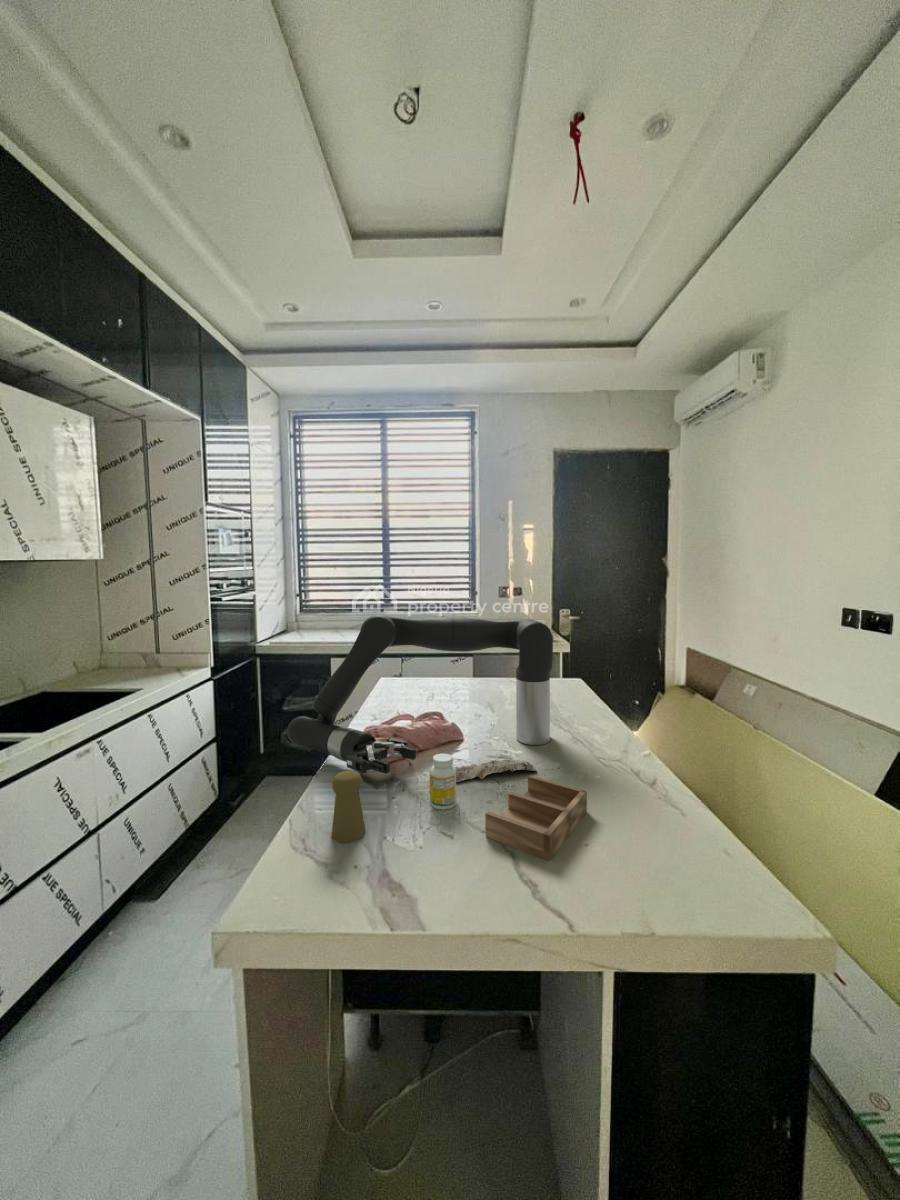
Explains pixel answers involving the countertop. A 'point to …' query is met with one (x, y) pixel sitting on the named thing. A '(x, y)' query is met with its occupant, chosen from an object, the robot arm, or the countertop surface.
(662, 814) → the countertop surface
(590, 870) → the countertop surface
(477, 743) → the countertop surface
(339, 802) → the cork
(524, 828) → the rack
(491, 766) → the stone fragment
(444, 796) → the supplement bottle
